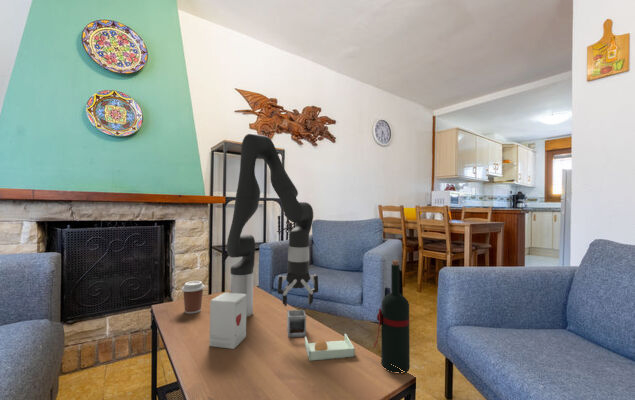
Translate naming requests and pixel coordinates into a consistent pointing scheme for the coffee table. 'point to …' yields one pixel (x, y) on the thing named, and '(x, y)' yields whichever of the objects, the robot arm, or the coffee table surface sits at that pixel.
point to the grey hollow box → (296, 322)
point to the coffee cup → (193, 296)
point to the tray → (331, 350)
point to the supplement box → (227, 320)
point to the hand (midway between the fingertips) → (297, 304)
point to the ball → (321, 345)
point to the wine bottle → (394, 327)
